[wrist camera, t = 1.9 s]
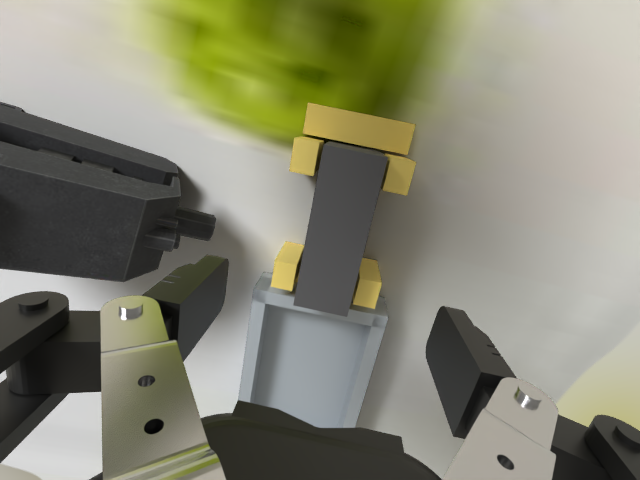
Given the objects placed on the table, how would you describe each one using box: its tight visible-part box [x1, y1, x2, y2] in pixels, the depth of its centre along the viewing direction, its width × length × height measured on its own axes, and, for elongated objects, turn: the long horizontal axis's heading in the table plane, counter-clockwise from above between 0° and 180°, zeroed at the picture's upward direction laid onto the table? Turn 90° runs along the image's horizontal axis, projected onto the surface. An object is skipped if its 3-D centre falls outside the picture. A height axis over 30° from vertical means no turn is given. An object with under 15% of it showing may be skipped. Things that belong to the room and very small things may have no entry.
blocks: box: [271, 103, 416, 309], centre depth 23 cm, size 14×7×4 cm, turn 169°
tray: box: [238, 272, 389, 428], centre depth 28 cm, size 16×10×3 cm, turn 169°
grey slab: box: [293, 141, 388, 317], centre depth 22 cm, size 11×4×6 cm, turn 169°
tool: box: [0, 102, 216, 282], centre depth 21 cm, size 6×19×15 cm
